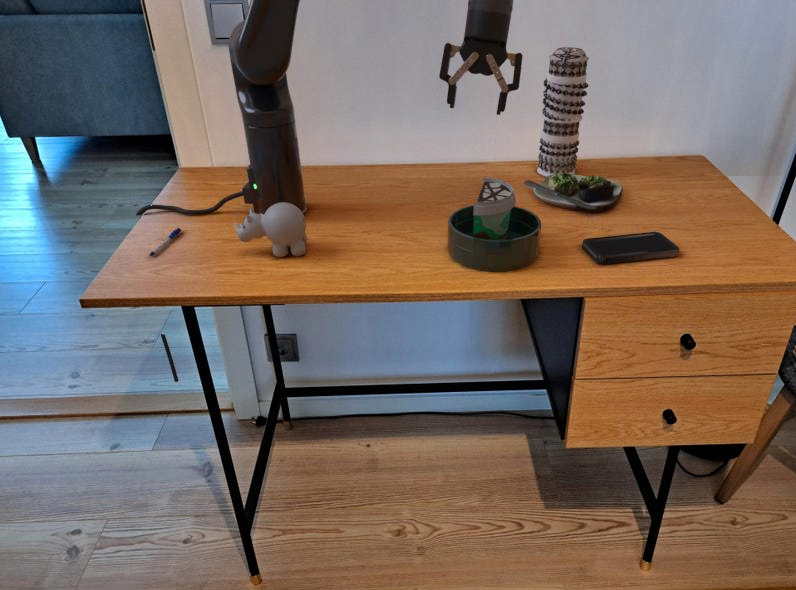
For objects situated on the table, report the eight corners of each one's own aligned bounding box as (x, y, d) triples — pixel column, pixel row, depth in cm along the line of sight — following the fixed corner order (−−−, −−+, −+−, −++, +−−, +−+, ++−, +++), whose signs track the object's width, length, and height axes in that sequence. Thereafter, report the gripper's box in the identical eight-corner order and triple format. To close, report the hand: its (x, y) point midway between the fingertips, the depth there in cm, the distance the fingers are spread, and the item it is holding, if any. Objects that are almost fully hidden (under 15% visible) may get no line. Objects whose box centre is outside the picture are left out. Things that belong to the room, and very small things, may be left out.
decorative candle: (544, 180, 139) (557, 54, 124) (529, 166, 146) (540, 46, 131) (583, 177, 140) (601, 52, 126) (566, 163, 148) (581, 44, 133)
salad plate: (509, 203, 128) (511, 180, 126) (538, 175, 141) (540, 154, 139) (605, 220, 121) (609, 197, 119) (626, 189, 134) (630, 168, 132)
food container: (508, 263, 105) (513, 205, 99) (471, 260, 106) (473, 202, 100) (515, 232, 115) (520, 178, 109) (481, 229, 116) (484, 175, 110)
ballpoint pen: (177, 231, 117) (176, 226, 117) (182, 231, 117) (180, 226, 117) (149, 257, 109) (148, 251, 108) (154, 257, 109) (153, 252, 108)
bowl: (443, 269, 105) (443, 238, 102) (452, 230, 118) (452, 201, 115) (538, 274, 104) (542, 243, 101) (537, 234, 117) (540, 205, 113)
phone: (580, 239, 112) (658, 231, 114) (579, 245, 113) (657, 236, 115) (599, 259, 106) (682, 250, 108) (598, 265, 106) (680, 256, 109)
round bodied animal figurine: (243, 243, 114) (234, 197, 109) (311, 241, 114) (305, 195, 109) (235, 261, 108) (226, 213, 103) (307, 259, 108) (301, 212, 103)
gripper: (530, 17, 112) (513, 115, 119) (450, 6, 113) (438, 104, 120) (531, 14, 105) (513, 118, 112) (446, 2, 106) (433, 106, 113)
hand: (474, 111), depth 116 cm, fingers open, 8 cm apart
